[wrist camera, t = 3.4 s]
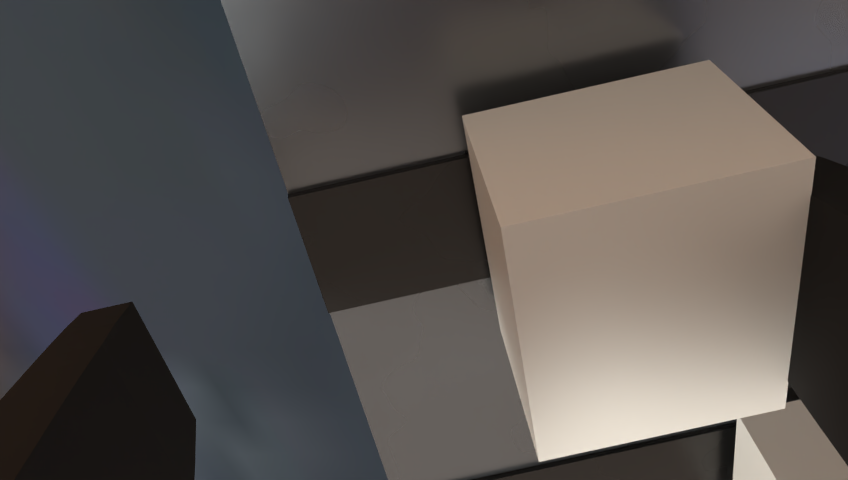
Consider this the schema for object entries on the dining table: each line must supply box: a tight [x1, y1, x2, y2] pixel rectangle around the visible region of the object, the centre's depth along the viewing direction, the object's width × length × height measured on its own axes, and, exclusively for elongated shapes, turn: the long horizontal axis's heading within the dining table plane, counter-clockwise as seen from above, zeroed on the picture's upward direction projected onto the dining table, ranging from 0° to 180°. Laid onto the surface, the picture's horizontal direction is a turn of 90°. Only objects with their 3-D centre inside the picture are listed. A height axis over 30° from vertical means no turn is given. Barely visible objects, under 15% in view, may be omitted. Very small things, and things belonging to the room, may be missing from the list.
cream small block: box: [462, 60, 816, 462], centre depth 9 cm, size 3×4×2 cm
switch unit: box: [221, 0, 848, 480], centre depth 11 cm, size 12×19×2 cm, turn 11°
